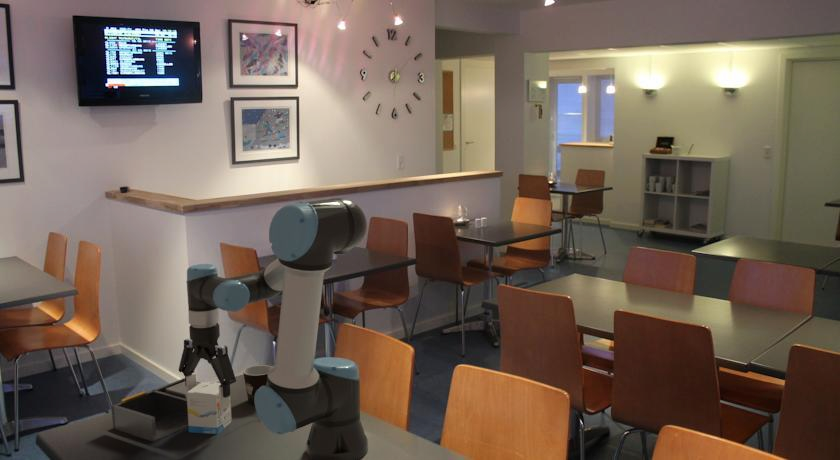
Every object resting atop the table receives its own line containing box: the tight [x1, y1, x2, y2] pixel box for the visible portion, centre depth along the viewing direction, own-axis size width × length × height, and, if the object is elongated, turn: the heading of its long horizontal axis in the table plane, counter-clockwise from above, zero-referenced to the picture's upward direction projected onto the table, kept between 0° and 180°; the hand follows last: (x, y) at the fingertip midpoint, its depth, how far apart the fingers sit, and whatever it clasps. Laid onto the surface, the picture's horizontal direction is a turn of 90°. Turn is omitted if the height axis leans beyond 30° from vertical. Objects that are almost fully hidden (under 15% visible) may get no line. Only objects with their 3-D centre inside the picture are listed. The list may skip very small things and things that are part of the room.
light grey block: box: [166, 381, 200, 399], centre depth 205 cm, size 8×8×7 cm
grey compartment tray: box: [111, 377, 202, 443], centre depth 200 cm, size 16×24×8 cm
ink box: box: [187, 381, 232, 435], centre depth 194 cm, size 9×8×12 cm
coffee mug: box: [242, 364, 272, 406], centre depth 210 cm, size 12×9×10 cm
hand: (208, 403), depth 194 cm, fingers open, 12 cm apart
